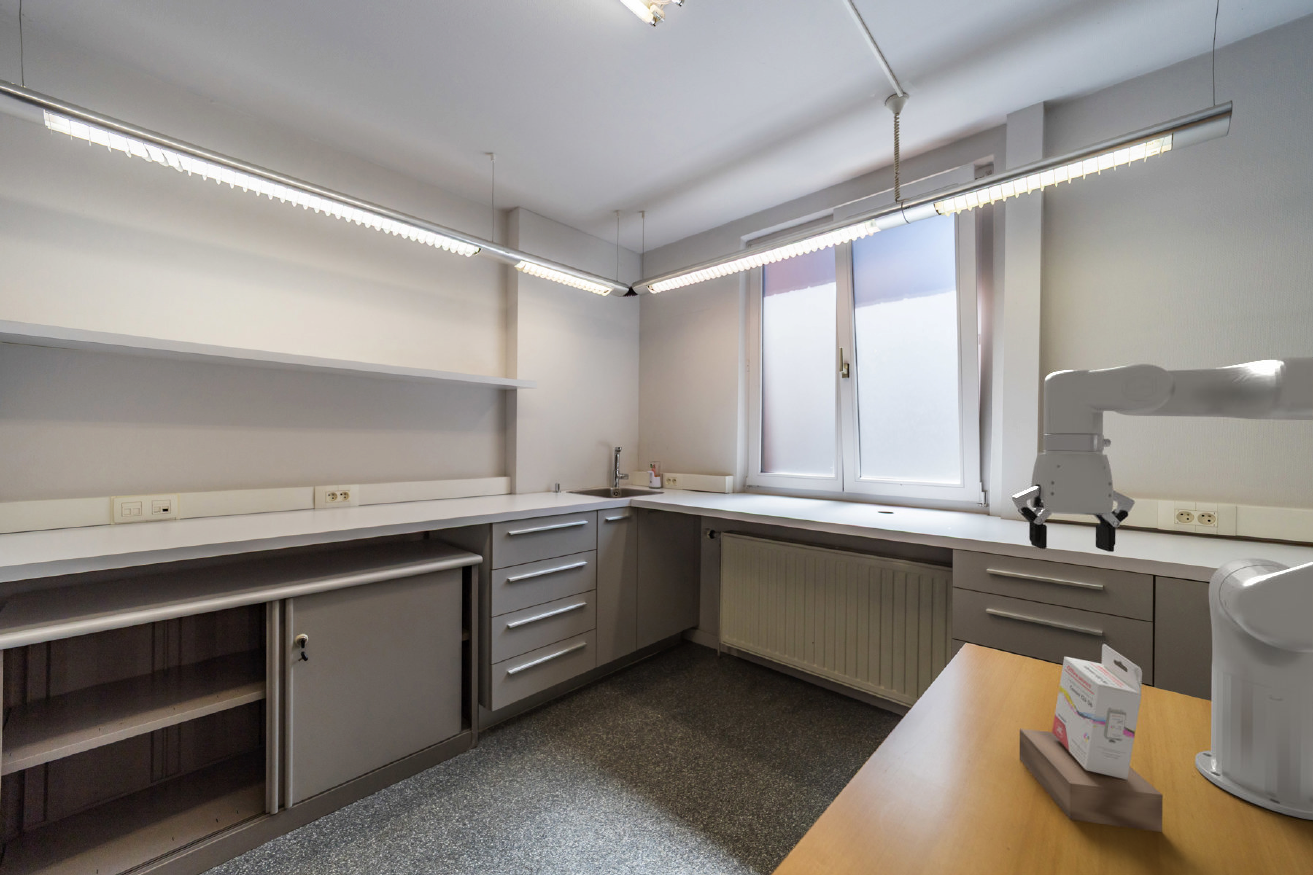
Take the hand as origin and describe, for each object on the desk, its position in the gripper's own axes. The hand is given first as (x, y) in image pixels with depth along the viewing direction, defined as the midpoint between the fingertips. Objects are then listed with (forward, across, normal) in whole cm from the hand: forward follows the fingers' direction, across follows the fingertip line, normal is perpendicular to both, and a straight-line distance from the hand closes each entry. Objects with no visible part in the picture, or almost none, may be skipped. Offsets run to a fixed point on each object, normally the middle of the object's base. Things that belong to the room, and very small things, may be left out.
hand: (1071, 548), depth 82 cm
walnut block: (+31, +7, +16) cm, 35 cm away
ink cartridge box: (+26, +7, +15) cm, 31 cm away
